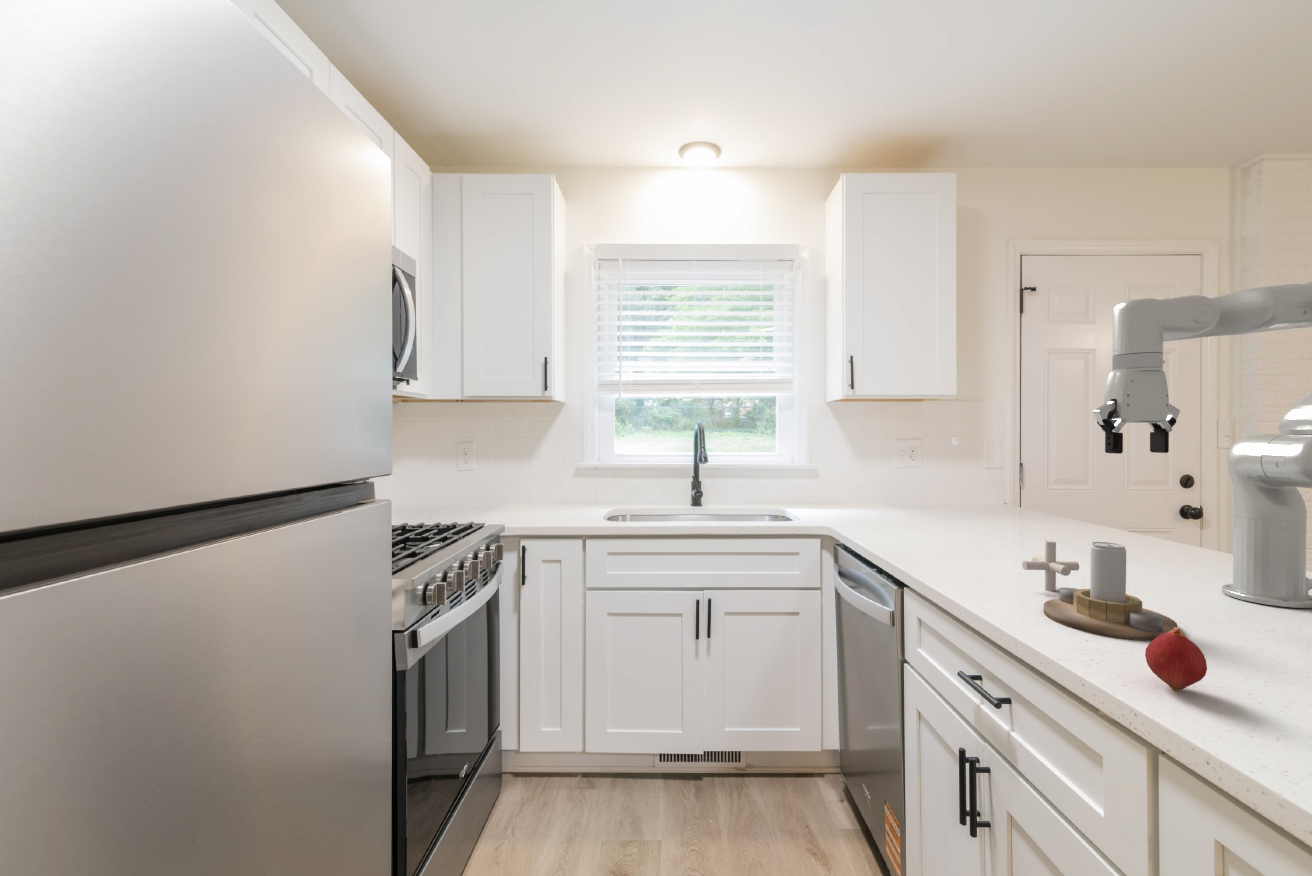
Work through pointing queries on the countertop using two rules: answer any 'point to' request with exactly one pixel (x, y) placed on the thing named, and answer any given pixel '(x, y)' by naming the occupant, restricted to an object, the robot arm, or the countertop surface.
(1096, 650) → the countertop surface
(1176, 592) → the countertop surface
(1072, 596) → the carrier
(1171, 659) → the onion
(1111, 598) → the beverage can
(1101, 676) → the countertop surface
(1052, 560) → the pipe connector
